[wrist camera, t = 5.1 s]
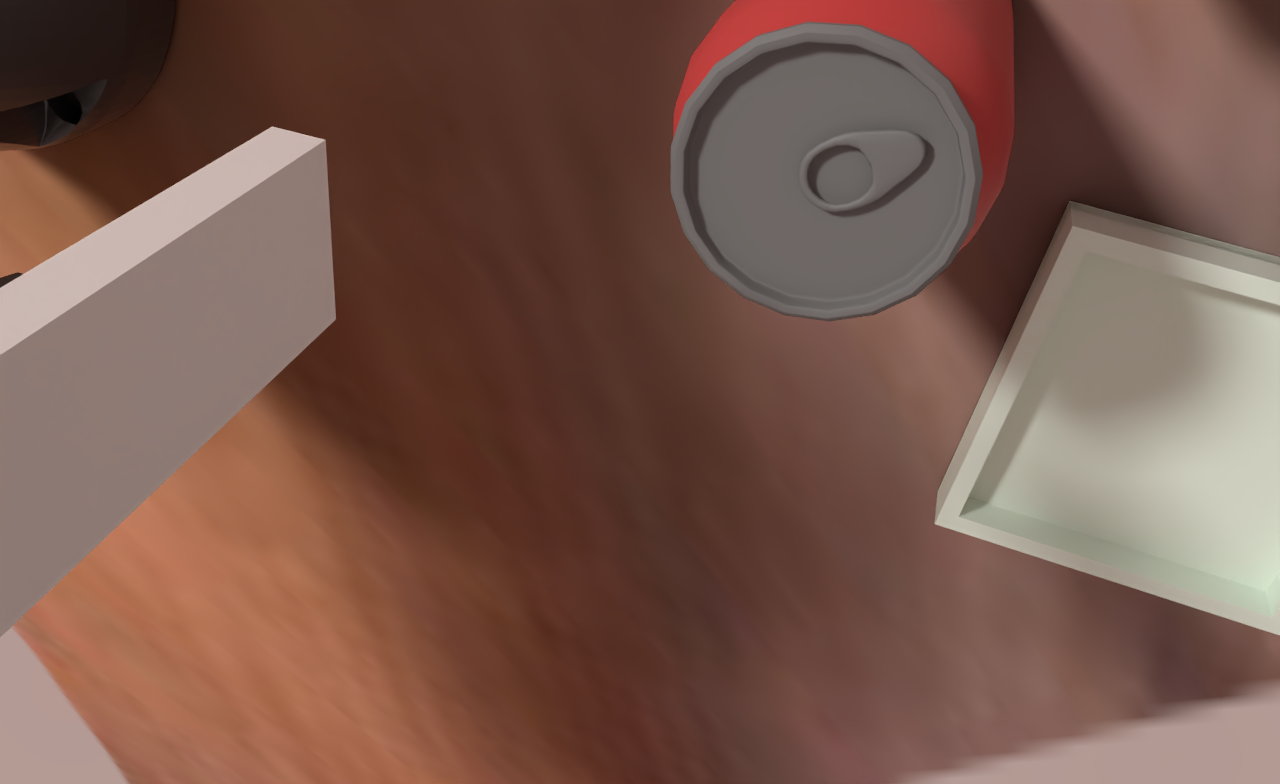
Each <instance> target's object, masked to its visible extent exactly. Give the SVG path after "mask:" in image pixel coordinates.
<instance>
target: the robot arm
mask: <svg viewBox="0 0 1280 784" xmlns="http://www.w3.org/2000/svg"><path fill="white" fill-rule="evenodd" d="M174 9H175V0H0V151H5V150H28V149H38V148H43V147H48V146H52V145H57V144H60V143H63V142H67V141H69V140H72V139H74V138H76V137H78V136H81V135H83V134H85V133H87V132H90V131H92V130H94V129H96V128H99V127H101V126H103V125H105V124H108V123H110V122H112V121H114V120H116V119H118V118H119V117H121V116H123V115H124V114H125V113H127V112H128V111H129V110H131V109H132V108H133V107H134V106H135V105H136V104H137V103H138V102H139V101H140V100H141V99H142V98H143V97H144V96H145V94H146V93H147V92H148V91H149V89H150V87H151V86H152V84H153V83H154V81H155V79H156V78H157V76H158V74H159V72H160V70H161V67H162V65H163V62H164V60H165V57H166V54H167V50H168V47H169V43H170V38H171V34H172V28H173V20H174ZM335 320H336V310H335V293H334V275H333V258H332V241H331V224H330V207H329V189H328V172H327V155H326V140H324V139H320V138H316V137H312V136H308V135H304V134H300V133H296V132H292V131H288V130H284V129H280V128H276V127H271V128H269V129H267V130H265V131H264V132H262V133H260V134H259V135H257V136H255V137H254V138H252V139H250V140H249V141H247V142H245V143H244V144H242V145H240V146H239V147H237V148H235V149H233V150H232V151H230V152H228V153H227V154H225V155H223V156H222V157H220V158H218V159H217V160H215V161H213V162H212V163H210V164H208V165H206V166H205V167H203V168H201V169H200V170H198V171H196V172H195V173H193V174H191V175H190V176H188V177H186V178H185V179H183V180H181V181H180V182H178V183H176V184H174V185H173V186H171V187H169V188H168V189H166V190H164V191H163V192H161V193H159V194H158V195H156V196H154V197H153V198H151V199H149V200H147V201H146V202H144V203H142V204H141V205H139V206H137V207H136V208H134V209H132V210H131V211H129V212H127V213H126V214H124V215H122V216H121V217H119V218H117V219H115V220H114V221H112V222H110V223H109V224H107V225H105V226H104V227H102V228H100V229H99V230H97V231H95V232H94V233H92V234H90V235H89V236H87V237H85V238H83V239H82V240H80V241H78V242H77V243H75V244H73V245H72V246H70V247H68V248H67V249H65V250H63V251H62V252H60V253H58V254H56V255H55V256H53V257H51V258H50V259H48V260H46V261H45V262H43V263H41V264H40V265H38V266H36V267H35V268H33V269H31V270H30V271H28V272H26V273H24V274H22V273H14V274H11V275H8V276H5V277H2V278H0V637H1V636H2V635H3V634H4V633H5V632H6V631H7V630H9V629H10V628H11V627H12V626H13V625H14V624H15V623H16V622H17V621H18V620H19V619H20V618H21V617H22V616H23V615H24V614H25V613H26V612H28V611H29V610H30V609H31V608H32V607H33V606H34V605H35V604H36V603H37V602H38V601H39V600H40V599H41V598H42V597H43V596H44V595H45V594H47V593H48V592H49V591H50V590H51V589H52V588H53V587H54V586H55V585H56V584H57V583H58V582H59V581H60V580H61V579H62V578H63V577H64V576H66V575H67V574H68V573H69V572H70V571H71V570H72V569H73V568H74V567H75V566H76V565H77V564H78V563H79V562H80V561H81V560H82V559H83V558H85V557H86V556H87V555H88V554H89V553H90V552H91V551H92V550H93V549H94V548H95V547H96V546H97V545H98V544H99V543H100V542H101V541H102V540H104V539H105V538H106V537H107V536H108V535H109V534H110V533H111V532H112V531H113V530H114V529H115V528H116V527H117V526H118V525H119V524H120V523H121V522H123V521H124V520H125V519H126V518H127V517H128V516H129V515H130V514H131V513H132V512H133V511H134V510H135V509H136V508H137V507H138V506H139V505H140V504H142V503H143V502H144V501H145V500H146V499H147V498H148V497H149V496H150V495H151V494H152V493H153V492H154V491H155V490H156V489H157V488H158V487H159V486H161V485H162V484H163V483H164V482H165V481H166V480H167V479H168V478H169V477H170V476H171V475H172V474H173V473H174V472H175V471H176V470H177V469H179V468H180V467H181V466H182V465H183V464H184V463H185V462H186V461H187V460H188V459H189V458H190V457H191V456H192V455H193V454H194V453H195V452H196V451H198V450H199V449H200V448H201V447H202V446H203V445H204V444H205V443H206V442H207V441H208V440H209V439H210V438H211V437H212V436H213V435H214V434H215V433H217V432H218V431H219V430H220V429H221V428H222V427H223V426H224V425H225V424H226V423H227V422H228V421H229V420H230V419H231V418H232V417H233V416H234V415H236V414H237V413H238V412H239V411H240V410H241V409H242V408H243V407H244V406H245V405H246V404H247V403H248V402H249V401H250V400H251V399H252V398H253V397H255V396H256V395H257V394H258V393H259V392H260V391H261V390H262V389H263V388H264V387H265V386H266V385H267V384H268V383H269V382H270V381H271V380H272V379H274V378H275V377H276V376H277V375H278V374H279V373H280V372H281V371H282V370H283V369H284V368H285V367H286V366H287V365H288V364H289V363H290V362H291V361H293V360H294V359H295V358H296V357H297V356H298V355H299V354H300V353H301V352H302V351H303V350H304V349H305V348H306V347H307V346H308V345H309V344H310V343H312V342H313V341H314V340H315V339H316V338H317V337H318V336H319V335H320V334H321V333H322V332H323V331H324V330H325V329H326V328H327V327H328V326H329V325H331V324H332V323H333V322H334V321H335Z"/></svg>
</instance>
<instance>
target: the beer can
mask: <svg viewBox="0 0 1280 784" xmlns="http://www.w3.org/2000/svg"><path fill="white" fill-rule="evenodd" d="M1014 132H1015V128H1014V16H1013V9H1012V2H1011V0H736V1H735V2H734V3H733V4H732V5H731V6H730V7H729V8H728V9H727V10H726V11H725V12H724V13H723V14H722V16H721V17H720V18H719V20H718V21H717V22H716V24H715V25H714V26H713V28H712V29H711V30H710V32H709V33H708V34H707V36H706V37H705V38H704V40H703V41H702V42H701V44H700V45H699V46H698V48H697V49H696V51H695V52H694V53H693V55H692V56H691V59H690V62H689V65H688V68H687V71H686V74H685V77H684V80H683V83H682V86H681V89H680V92H679V95H678V98H677V101H676V105H675V111H674V117H673V141H672V144H671V194H672V197H673V201H674V204H675V207H676V210H677V213H678V216H679V219H680V223H681V226H682V229H683V232H684V234H685V236H686V237H687V239H688V240H689V241H690V243H691V244H692V246H693V247H694V249H695V250H696V252H697V253H698V255H699V256H700V257H701V259H702V260H703V262H704V263H705V265H706V266H707V268H708V269H709V270H710V271H711V272H712V273H714V274H715V275H716V276H717V277H719V278H720V279H721V280H722V281H724V282H725V283H726V284H727V285H728V286H730V287H731V288H732V289H733V290H735V291H736V292H737V293H738V294H740V295H741V296H742V297H743V298H746V299H748V300H750V301H752V302H755V303H757V304H759V305H762V306H764V307H766V308H769V309H771V310H773V311H776V312H778V313H780V314H783V315H787V316H794V317H802V318H809V319H817V320H824V321H834V320H841V319H848V318H855V317H862V316H868V315H875V314H877V313H879V312H881V311H883V310H886V309H888V308H890V307H892V306H894V305H896V304H899V303H901V302H903V301H905V300H907V299H910V298H912V297H914V296H916V295H917V294H918V293H920V292H921V291H922V290H923V289H924V288H925V287H926V286H927V285H928V284H930V283H931V282H932V281H933V280H934V279H935V278H936V277H937V276H938V275H940V274H941V273H942V272H943V271H944V270H945V269H946V268H947V267H948V266H950V265H951V263H952V261H953V260H954V258H955V256H956V254H957V253H958V252H959V251H960V250H961V249H962V248H963V247H964V246H965V245H967V244H968V243H969V242H970V241H971V239H972V238H973V237H974V235H975V234H976V232H977V231H978V229H979V228H980V226H981V224H982V222H983V221H984V219H985V217H986V215H987V214H988V212H989V210H990V209H991V207H992V205H993V203H994V202H995V200H996V198H997V196H998V195H999V193H1000V191H1001V189H1002V188H1003V186H1004V183H1005V178H1006V173H1007V168H1008V163H1009V158H1010V153H1011V148H1012V142H1013V137H1014Z"/></svg>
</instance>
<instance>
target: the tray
mask: <svg viewBox="0 0 1280 784" xmlns="http://www.w3.org/2000/svg"><path fill="white" fill-rule="evenodd" d="M935 524H936V525H939V526H942V527H945V528H948V529H951V530H955V531H958V532H961V533H964V534H967V535H970V536H973V537H976V538H979V539H982V540H986V541H989V542H992V543H995V544H998V545H1001V546H1004V547H1007V548H1010V549H1013V550H1017V551H1020V552H1023V553H1026V554H1029V555H1032V556H1035V557H1038V558H1041V559H1044V560H1048V561H1051V562H1054V563H1057V564H1060V565H1063V566H1066V567H1069V568H1072V569H1075V570H1078V571H1082V572H1085V573H1088V574H1091V575H1094V576H1097V577H1100V578H1103V579H1106V580H1109V581H1113V582H1116V583H1119V584H1122V585H1125V586H1128V587H1131V588H1134V589H1137V590H1140V591H1144V592H1147V593H1150V594H1153V595H1156V596H1159V597H1162V598H1165V599H1168V600H1171V601H1175V602H1178V603H1181V604H1184V605H1187V606H1190V607H1193V608H1196V609H1199V610H1202V611H1205V612H1209V613H1212V614H1215V615H1218V616H1221V617H1224V618H1227V619H1230V620H1233V621H1236V622H1240V623H1243V624H1246V625H1249V626H1252V627H1255V628H1258V629H1261V630H1264V631H1267V632H1271V633H1274V634H1277V635H1280V257H1277V256H1273V255H1270V254H1266V253H1262V252H1258V251H1255V250H1251V249H1247V248H1244V247H1240V246H1236V245H1233V244H1229V243H1225V242H1221V241H1218V240H1214V239H1210V238H1207V237H1203V236H1199V235H1195V234H1192V233H1188V232H1184V231H1181V230H1177V229H1173V228H1170V227H1166V226H1162V225H1158V224H1155V223H1151V222H1147V221H1144V220H1140V219H1136V218H1132V217H1129V216H1125V215H1121V214H1118V213H1114V212H1110V211H1106V210H1103V209H1099V208H1095V207H1092V206H1088V205H1084V204H1081V203H1077V202H1073V201H1069V203H1068V205H1067V207H1066V210H1065V212H1064V214H1063V216H1062V218H1061V221H1060V223H1059V225H1058V227H1057V229H1056V232H1055V234H1054V236H1053V238H1052V240H1051V243H1050V245H1049V247H1048V249H1047V251H1046V254H1045V256H1044V258H1043V260H1042V262H1041V265H1040V267H1039V269H1038V271H1037V273H1036V276H1035V278H1034V280H1033V282H1032V284H1031V287H1030V289H1029V291H1028V293H1027V295H1026V298H1025V300H1024V302H1023V304H1022V307H1021V309H1020V311H1019V313H1018V315H1017V318H1016V320H1015V322H1014V324H1013V326H1012V329H1011V331H1010V333H1009V335H1008V337H1007V340H1006V342H1005V344H1004V346H1003V348H1002V351H1001V353H1000V355H999V357H998V359H997V362H996V364H995V366H994V368H993V370H992V373H991V375H990V377H989V379H988V381H987V384H986V386H985V388H984V390H983V392H982V395H981V397H980V399H979V401H978V403H977V406H976V408H975V410H974V412H973V414H972V417H971V419H970V421H969V423H968V426H967V428H966V430H965V432H964V434H963V437H962V439H961V441H960V443H959V445H958V448H957V450H956V452H955V454H954V456H953V459H952V461H951V463H950V465H949V467H948V470H947V472H946V474H945V476H944V478H943V481H942V483H941V485H940V487H939V489H938V493H937V504H936V514H935Z"/></svg>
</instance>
